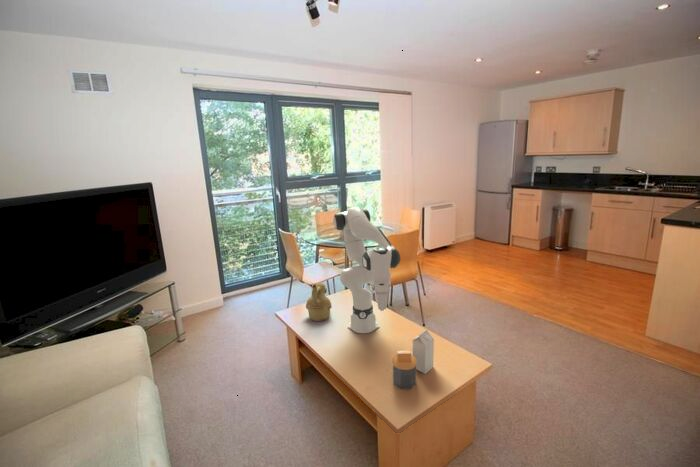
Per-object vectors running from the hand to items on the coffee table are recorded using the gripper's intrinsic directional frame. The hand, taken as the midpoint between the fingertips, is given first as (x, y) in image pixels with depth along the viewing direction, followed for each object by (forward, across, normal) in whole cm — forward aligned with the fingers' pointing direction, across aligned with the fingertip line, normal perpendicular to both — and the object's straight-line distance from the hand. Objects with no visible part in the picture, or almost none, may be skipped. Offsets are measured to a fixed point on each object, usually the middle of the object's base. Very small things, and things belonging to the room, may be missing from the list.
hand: (381, 309), depth 149 cm
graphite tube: (+29, +13, +9) cm, 33 cm away
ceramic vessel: (+29, -49, -39) cm, 69 cm away
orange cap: (+21, +13, +9) cm, 26 cm away
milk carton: (+29, +3, +19) cm, 35 cm away
